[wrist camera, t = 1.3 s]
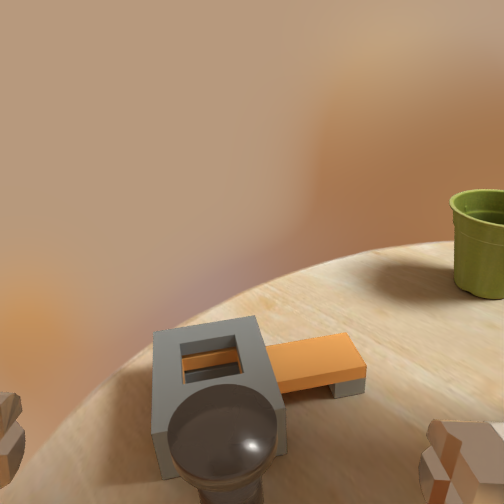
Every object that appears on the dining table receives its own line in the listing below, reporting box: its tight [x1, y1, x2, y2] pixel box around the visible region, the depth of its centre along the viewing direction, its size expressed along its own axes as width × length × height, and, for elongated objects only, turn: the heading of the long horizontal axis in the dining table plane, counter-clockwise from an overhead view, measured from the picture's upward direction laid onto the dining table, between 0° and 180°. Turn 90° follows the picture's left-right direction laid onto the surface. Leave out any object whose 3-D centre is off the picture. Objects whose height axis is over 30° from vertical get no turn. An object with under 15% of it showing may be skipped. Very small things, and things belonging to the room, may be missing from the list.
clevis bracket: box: [151, 315, 367, 480], centre depth 40 cm, size 19×12×6 cm, turn 101°
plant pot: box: [449, 189, 504, 299], centre depth 54 cm, size 12×12×11 cm
